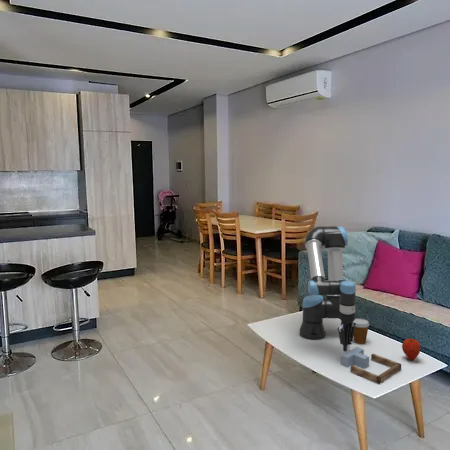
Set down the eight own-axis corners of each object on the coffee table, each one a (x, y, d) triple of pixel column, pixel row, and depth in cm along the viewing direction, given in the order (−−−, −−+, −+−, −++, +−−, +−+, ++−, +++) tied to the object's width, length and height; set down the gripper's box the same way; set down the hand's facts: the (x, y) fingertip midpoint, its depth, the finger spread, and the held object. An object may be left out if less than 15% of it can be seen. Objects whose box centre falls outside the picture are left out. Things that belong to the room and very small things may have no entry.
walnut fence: (350, 371, 193) (350, 366, 192) (372, 359, 205) (372, 353, 205) (379, 384, 181) (379, 378, 181) (401, 369, 194) (401, 363, 193)
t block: (340, 364, 200) (341, 355, 200) (356, 356, 209) (357, 346, 208) (358, 371, 192) (358, 362, 192) (374, 362, 201) (374, 353, 201)
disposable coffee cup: (347, 339, 229) (348, 319, 227) (360, 336, 232) (361, 317, 231) (359, 346, 220) (359, 325, 218) (372, 343, 224) (373, 322, 222)
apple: (397, 357, 206) (398, 337, 205) (409, 354, 210) (410, 334, 208) (411, 364, 198) (412, 344, 197) (423, 361, 202) (424, 340, 200)
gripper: (346, 317, 195) (344, 362, 198) (361, 311, 203) (359, 355, 206) (333, 313, 201) (332, 357, 204) (348, 307, 209) (347, 350, 212)
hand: (346, 356), depth 205 cm, fingers closed
